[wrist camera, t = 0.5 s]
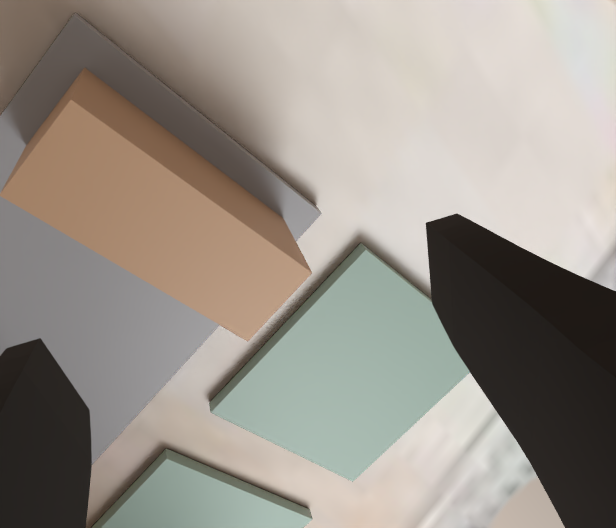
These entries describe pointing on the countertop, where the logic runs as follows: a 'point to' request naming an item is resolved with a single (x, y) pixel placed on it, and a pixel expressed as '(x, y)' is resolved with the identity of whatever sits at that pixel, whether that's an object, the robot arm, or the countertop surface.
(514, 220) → the countertop surface
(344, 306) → the pair of green tiles
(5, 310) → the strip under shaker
